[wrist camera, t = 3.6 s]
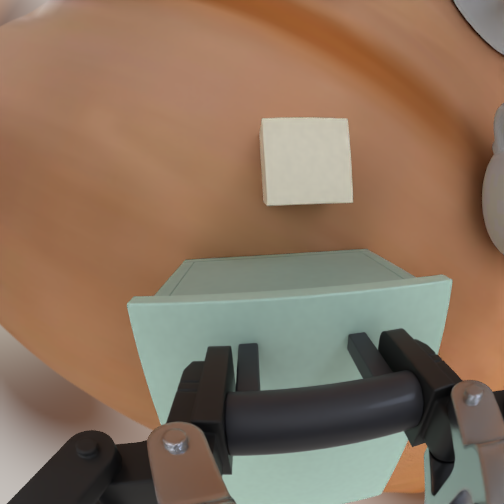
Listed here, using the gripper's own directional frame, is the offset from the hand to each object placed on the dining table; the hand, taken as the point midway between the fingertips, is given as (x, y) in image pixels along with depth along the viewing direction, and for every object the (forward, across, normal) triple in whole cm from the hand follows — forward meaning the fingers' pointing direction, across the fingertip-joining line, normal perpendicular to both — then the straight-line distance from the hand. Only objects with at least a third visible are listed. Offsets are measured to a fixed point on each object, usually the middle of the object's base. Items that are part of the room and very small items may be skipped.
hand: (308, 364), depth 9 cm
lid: (+2, 0, +6) cm, 6 cm away
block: (+11, -2, -7) cm, 13 cm away
